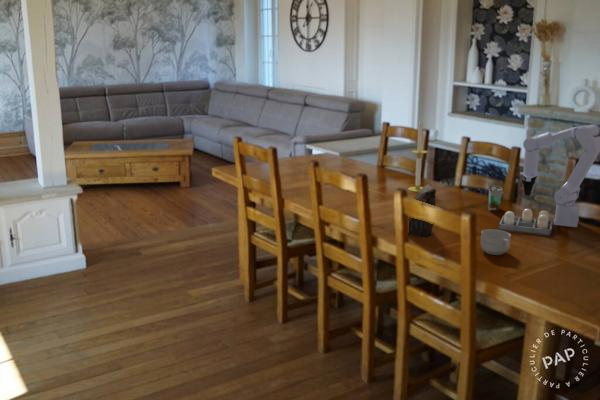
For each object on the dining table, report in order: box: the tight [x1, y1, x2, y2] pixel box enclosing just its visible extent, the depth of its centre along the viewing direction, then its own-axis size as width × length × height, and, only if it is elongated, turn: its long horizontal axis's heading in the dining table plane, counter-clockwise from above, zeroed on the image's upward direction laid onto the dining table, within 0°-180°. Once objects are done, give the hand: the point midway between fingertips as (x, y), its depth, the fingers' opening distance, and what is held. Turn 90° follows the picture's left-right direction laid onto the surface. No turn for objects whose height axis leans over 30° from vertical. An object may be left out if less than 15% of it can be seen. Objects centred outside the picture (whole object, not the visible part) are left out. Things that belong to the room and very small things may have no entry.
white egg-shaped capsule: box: [504, 210, 515, 226], centre depth 268 cm, size 4×4×7 cm
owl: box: [408, 183, 437, 239], centre depth 261 cm, size 13×13×20 cm
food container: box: [487, 184, 504, 212], centre depth 295 cm, size 12×6×10 cm, turn 168°
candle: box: [407, 118, 428, 193], centre depth 326 cm, size 10×10×38 cm
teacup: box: [480, 228, 512, 256], centre depth 239 cm, size 14×11×8 cm
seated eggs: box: [521, 208, 550, 229], centre depth 267 cm, size 11×11×7 cm
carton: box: [498, 214, 554, 237], centre depth 269 cm, size 20×14×2 cm
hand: (528, 193), depth 285 cm, fingers open, 7 cm apart
